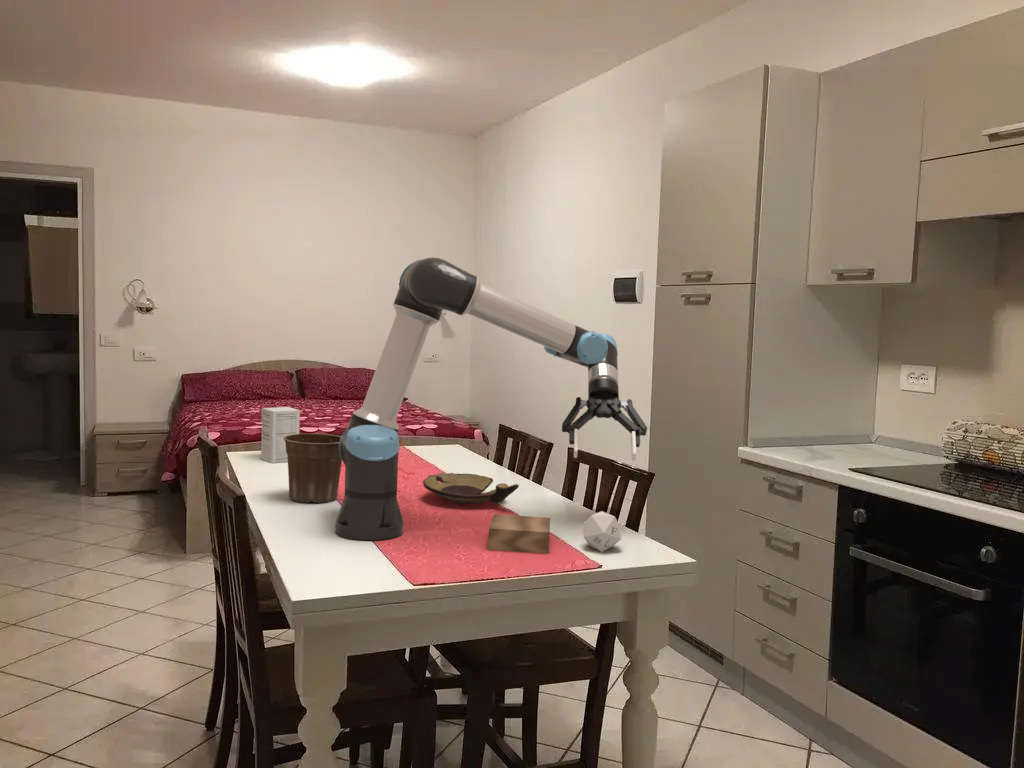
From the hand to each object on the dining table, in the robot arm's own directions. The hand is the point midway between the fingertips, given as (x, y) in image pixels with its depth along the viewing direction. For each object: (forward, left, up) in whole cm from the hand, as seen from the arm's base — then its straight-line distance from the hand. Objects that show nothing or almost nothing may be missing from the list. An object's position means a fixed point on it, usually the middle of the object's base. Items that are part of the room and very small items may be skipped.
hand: (604, 455), depth 192 cm
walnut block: (-19, -12, -19) cm, 29 cm away
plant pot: (-74, +19, -19) cm, 78 cm away
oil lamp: (-34, +25, -19) cm, 46 cm away
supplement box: (-100, +70, -19) cm, 123 cm away
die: (-1, -12, -19) cm, 22 cm away
